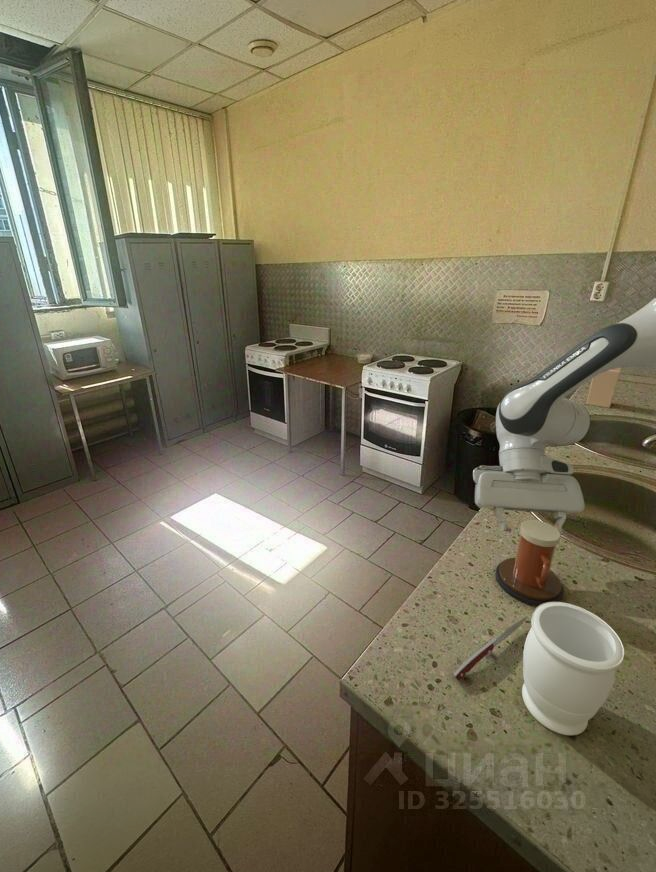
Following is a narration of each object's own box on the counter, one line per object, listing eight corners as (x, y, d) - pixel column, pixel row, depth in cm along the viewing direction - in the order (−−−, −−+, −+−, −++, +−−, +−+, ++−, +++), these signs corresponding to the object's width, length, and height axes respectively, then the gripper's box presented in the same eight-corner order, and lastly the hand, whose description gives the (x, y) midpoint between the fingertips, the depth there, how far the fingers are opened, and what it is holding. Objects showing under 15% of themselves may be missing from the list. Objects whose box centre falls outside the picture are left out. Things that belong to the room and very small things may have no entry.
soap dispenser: (585, 404, 177) (598, 355, 169) (588, 399, 183) (600, 352, 175) (621, 409, 169) (636, 359, 161) (623, 404, 175) (637, 355, 167)
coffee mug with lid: (492, 558, 86) (501, 511, 82) (547, 562, 84) (559, 515, 80) (508, 597, 76) (519, 546, 72) (571, 603, 74) (586, 551, 70)
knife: (456, 687, 62) (458, 673, 60) (449, 680, 63) (451, 667, 61) (529, 625, 71) (532, 613, 70) (522, 620, 72) (525, 608, 71)
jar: (531, 659, 65) (549, 589, 60) (606, 708, 58) (634, 634, 53) (501, 702, 59) (518, 628, 54) (581, 764, 52) (610, 686, 46)
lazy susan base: (547, 565, 85) (548, 561, 85) (573, 610, 74) (575, 606, 74) (488, 560, 87) (489, 556, 87) (505, 603, 76) (506, 599, 76)
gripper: (475, 460, 84) (481, 526, 79) (581, 466, 81) (595, 535, 75) (468, 468, 90) (472, 531, 84) (567, 474, 86) (578, 539, 81)
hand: (531, 533), depth 80 cm, fingers open, 8 cm apart
